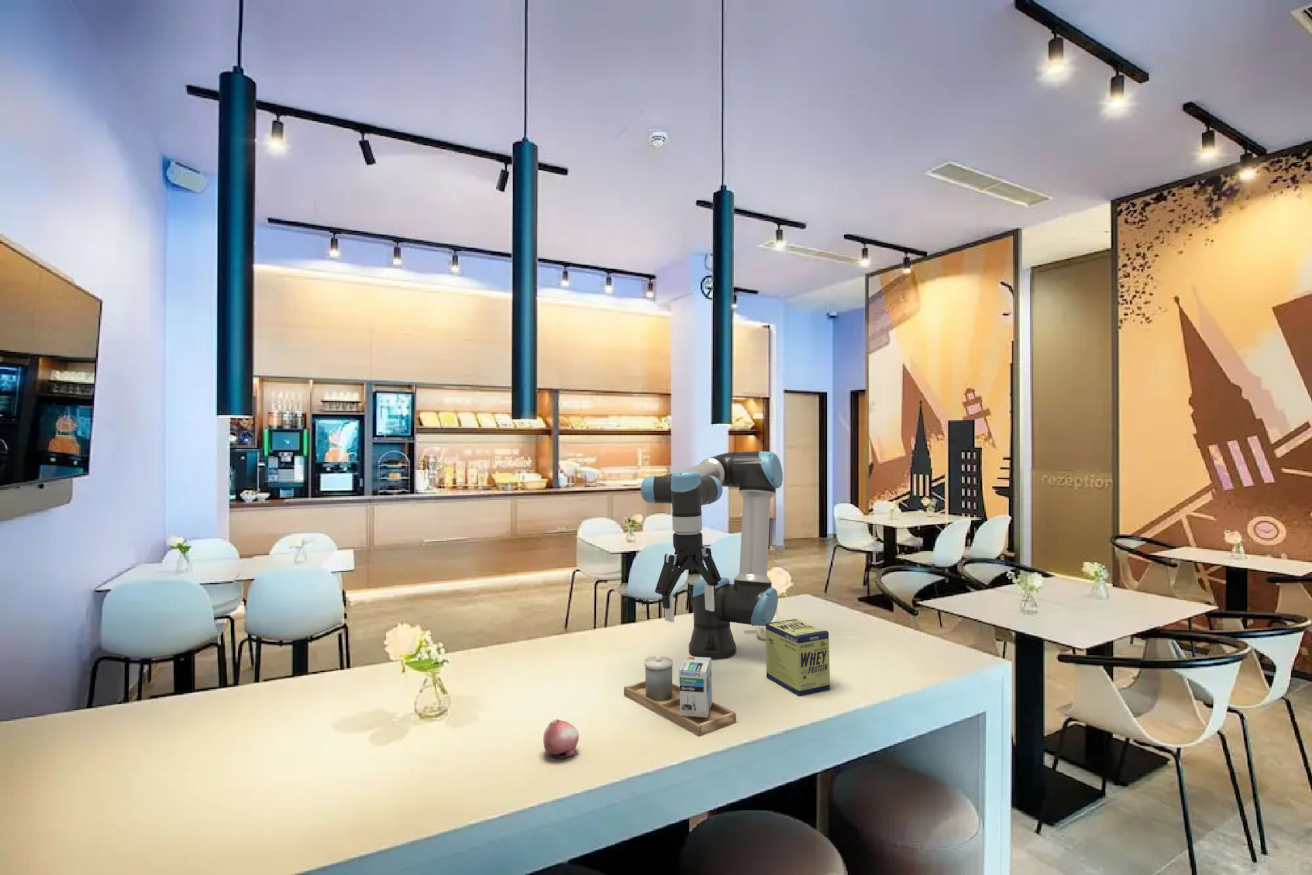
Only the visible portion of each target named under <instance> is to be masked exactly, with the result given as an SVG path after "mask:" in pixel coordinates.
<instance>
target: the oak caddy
mask: <svg viewBox="0 0 1312 875" xmlns="http://www.w3.org/2000/svg"><path fill="white" fill-rule="evenodd" d="M672 691H673V696H672V698H671V699H669V700H666V701H654V700H652V699H650V698H648V697H646V685H645V680H643V681H640V682H637V683H633V684H630V685H626V686H624V687H623V696H624V697H626V698H627V699H630V700H632V701H634V702H635V703H637V704H638V705H641V706H643V707H644V708H646V709H649V710H650V711H652V712H654V713H656V714H658V715H659V716H661V717H662V718H664V719H666V720H668V721H670V722H672V723H674V724H676V725H677V726H680V727H681V728H683V729H685V730H687V731H688V732H690V733H692V734H694V735H696V736H697V737H701V736H702V735H703V736H704V735H706V734H708V733H711V732H714V731H716V730H719V729H722V728H724V727H727V726H730V725H733V724H735V723H737V712H735V711H732V710H731V709H728V708H727V707H725V706H722V705H720V704H718V703H716V702H715V701H712V704H711V707H710V711H709V714H708V717H707V718H705V717H692V716H680V685H677V684H675V683H673V682H672Z"/></svg>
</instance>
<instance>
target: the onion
mask: <svg viewBox="0 0 1312 875" xmlns="http://www.w3.org/2000/svg"><path fill="white" fill-rule="evenodd" d="M579 737H580V734H579V731H578V729H577V728H576V726H574V725H573V724H572V723H570V722H568V721H566V720H560V719H557V718H556V719H553V720H552V721H550V722H549V724H547V727H546V728H545V730H544V732H543V739H542V740H543V748H544V751H545V753H547V755H548V756H550V757H552V758H562V759H563V758H569V757H572V756H576V755H579V753H578V751H577V750H576V748H577V746H578V743H579V739H580V738H579Z"/></svg>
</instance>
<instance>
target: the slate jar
mask: <svg viewBox="0 0 1312 875" xmlns="http://www.w3.org/2000/svg"><path fill="white" fill-rule="evenodd" d="M643 664H644V670H645V671H644V672H645V674H644V675H645V679H644V681H645V685H646V697H648V698H650V699H652V700H654V701H666V700H669V699H671V698H672V696H673V691H672V683H673V665H674V662H673V659H672V658H670V657H667V656H661V655H657V656H650V657H647V658H645V659H644V663H643Z"/></svg>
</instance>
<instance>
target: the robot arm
mask: <svg viewBox="0 0 1312 875" xmlns="http://www.w3.org/2000/svg"><path fill="white" fill-rule="evenodd" d="M783 473H784V472H783V468H782V463H781V461H780V458H779V457H778V455H777V454H776V453H775V452H773V451H763V450H757V451H730V452H725V453H724V452H723V453H720V454H717V455H715V456H710V457H708V458H705V459H703V460H702V461H701V462H700V463H699V464H696V465H693V466H690V467H687V468H684V469H681V470H678V471H675V472H671V473H668V474H664V475H660V476H659V475H658V476H657V475H651V476H646V477H645V478H643V480H642V482H641V486H640V494H641V495H640V496H641V498H642V500H643V501H645V502H646V503H649V504H656V505H657V504H669V505H670V504H671V507H672V509H671V511H672V513H671V518H672V519H671V520H672V521H671V522H672V523H671V524H672V531H673V532H674V533H673V534H672V545H673V549H674V554H669V553H664V558H663V565H662V568H661V571H660V574H659V577H658V580H657V583H656V587H655V589H654V592H655V593H656V594H658V595H661V599H662V600H661V602H662V603H661V604H662V609H664V621H666V622H669V623H674V622H675V611H674V610H675V608H674V606H675V605H674V604H675V602H674V595H672V593H673V591H674V589H675V587H676V585H677V583H678V582H679V580H680V578H681V576H682V574H684V572H686V571H687V570H689V571H690V569H692V570H693V569H695V570H697V572H698V573H699V575H700V576H701V577H702V578H703V579H701V580H697V581H696V582H695V583H694V584H693V587H692V588H693V590H692V606H693V607H692V609H693V611H692V612H693V628H692V629H693V630H692V633H691V638H690V641H689V643H688V653H689V655H691V657H704V658H711V660H723V659H728V658H731V657H734V656H735V655H736V654H737V644H736V642H735V638H734V635H733V632H732V630H731V623H733V624H741V625H748V626H749V625H751V626H752V627H756V626H758V627H760V626H761V627H766V623H771V622H773V620H774V618H775V615H776V613H777V608H778V602H779V596H778V591H777V589H776V588H774V587H773V586H772V584H773V582H772V580H771V579H770V578H769V577H768V562H769V537H770V535H769V534H770V519H771V518H770V516H771V515H770V514H771V513H770V512H771V499H772V498H773V497H774V496H775V495H776V489H779V488H781V486H782V485H783V480H784V479H783V478H784V477H783V476H784V475H783ZM723 487H726V488H727V487H728V488H738V494H740V496H741V497H742V511H741V512H742V514H741V515H742V516H741V517H742V518H741V536H740V553H739V555H740V556H739V572H738V575H736V576H735V577H734V578H733V584H732V583H731V581H730V580H729V578H728V577H721V574H720V572H719V570H718V568H717V565H716V563H715V561H714V559H713V556H712V548H710V547H705V546H703V533H702V532H701V531H702V530H703V517H702V516H703V515H702V506H705V505H711V504H714V503H716V502H717V501H718V500H719V499H721V497H722V495H723V489H724V488H723Z"/></svg>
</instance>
